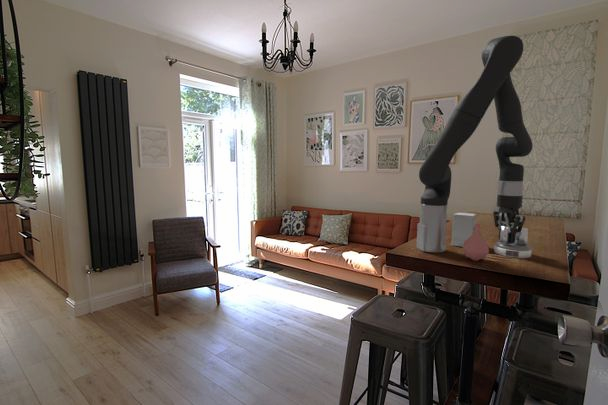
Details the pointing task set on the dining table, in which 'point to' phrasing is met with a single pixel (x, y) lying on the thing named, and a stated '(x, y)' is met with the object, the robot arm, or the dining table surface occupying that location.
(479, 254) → the pink rounded bulb
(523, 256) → the scale
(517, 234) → the steel spacer
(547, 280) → the dining table surface
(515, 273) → the dining table surface
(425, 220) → the robot arm
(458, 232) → the supplement box
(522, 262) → the dining table surface
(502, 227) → the steel spacer
